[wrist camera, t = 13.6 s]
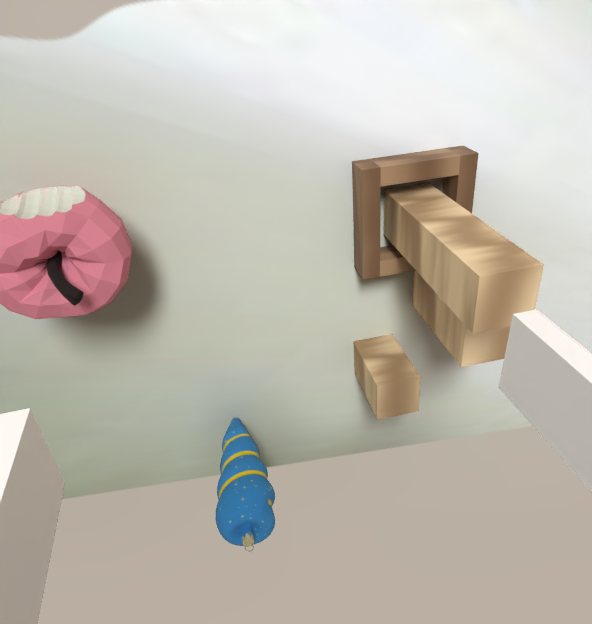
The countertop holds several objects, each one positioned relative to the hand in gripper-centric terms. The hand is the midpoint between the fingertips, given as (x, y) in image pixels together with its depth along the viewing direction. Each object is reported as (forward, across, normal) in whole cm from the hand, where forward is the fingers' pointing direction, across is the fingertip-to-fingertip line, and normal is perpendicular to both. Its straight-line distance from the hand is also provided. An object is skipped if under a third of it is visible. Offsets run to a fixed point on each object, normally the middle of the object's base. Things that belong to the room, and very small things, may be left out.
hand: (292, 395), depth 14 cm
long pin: (+28, +16, -7) cm, 33 cm away
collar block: (+28, +16, -7) cm, 33 cm away
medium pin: (+28, +19, -15) cm, 37 cm away
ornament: (+29, -2, -27) cm, 40 cm away
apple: (+29, -11, -4) cm, 32 cm away
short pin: (+28, +13, -22) cm, 38 cm away
